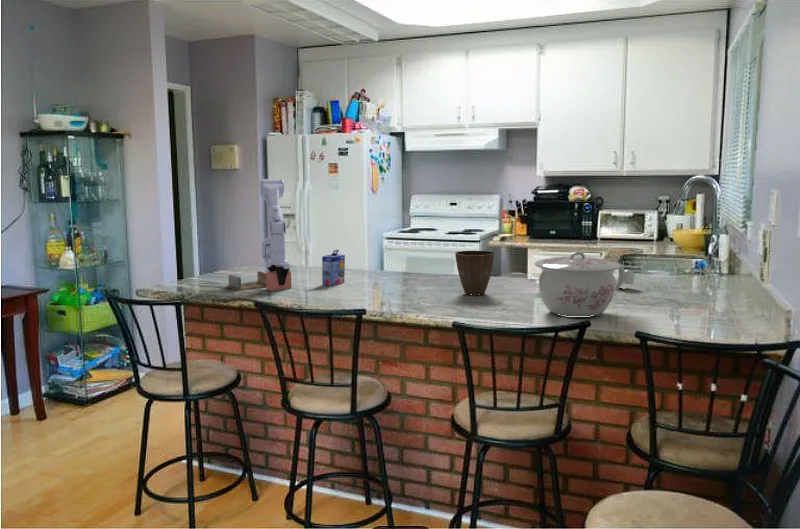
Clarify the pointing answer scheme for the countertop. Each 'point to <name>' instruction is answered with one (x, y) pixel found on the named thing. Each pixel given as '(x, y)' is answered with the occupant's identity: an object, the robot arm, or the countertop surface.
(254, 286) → the shelf
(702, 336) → the countertop surface
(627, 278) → the white plastic bottle
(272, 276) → the pink rectangular pillar
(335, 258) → the ink cartridge box
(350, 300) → the countertop surface
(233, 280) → the gray rectangular bar
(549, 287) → the chamber pot
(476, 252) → the plant pot
